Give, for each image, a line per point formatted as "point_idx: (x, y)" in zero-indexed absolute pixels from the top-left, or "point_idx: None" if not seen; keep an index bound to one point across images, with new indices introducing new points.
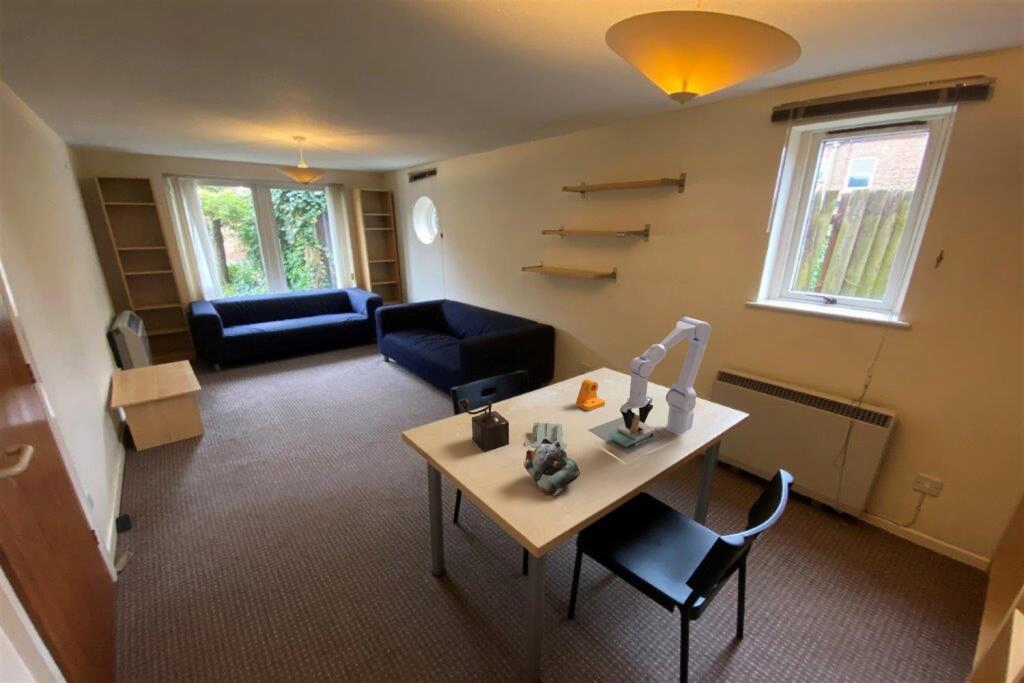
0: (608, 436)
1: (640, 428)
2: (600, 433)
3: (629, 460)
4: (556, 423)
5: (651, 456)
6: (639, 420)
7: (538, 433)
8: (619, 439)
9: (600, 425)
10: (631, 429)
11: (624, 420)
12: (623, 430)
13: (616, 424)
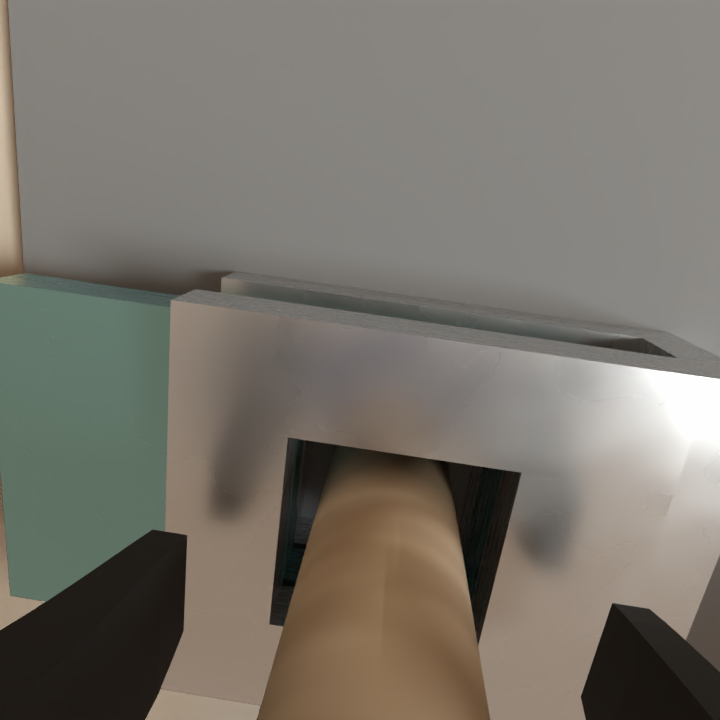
0: (143, 194)
1: (485, 601)
2: (103, 38)
3: (10, 619)
4: None
5: (246, 714)
6: (616, 615)
7: None
8: (20, 482)
9: None
10: (308, 539)
11: (21, 630)
12: (169, 461)
13: (583, 17)
